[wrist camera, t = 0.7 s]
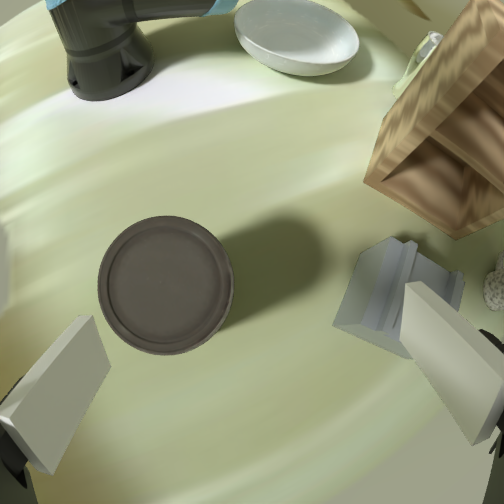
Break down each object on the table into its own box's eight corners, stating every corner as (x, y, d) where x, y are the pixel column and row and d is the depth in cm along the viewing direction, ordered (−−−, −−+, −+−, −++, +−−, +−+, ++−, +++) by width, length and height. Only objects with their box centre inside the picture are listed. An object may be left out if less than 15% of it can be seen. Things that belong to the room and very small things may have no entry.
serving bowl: (316, 20, 51) (325, -4, 44) (366, 88, 47) (382, 63, 40) (218, 26, 47) (219, -2, 41) (253, 100, 43) (259, 68, 37)
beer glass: (427, 106, 48) (469, 58, 33) (407, 115, 46) (451, 62, 32) (404, 80, 49) (439, 29, 34) (382, 86, 47) (419, 30, 33)
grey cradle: (406, 358, 36) (451, 362, 27) (332, 325, 37) (367, 323, 27) (428, 291, 39) (473, 280, 30) (360, 253, 39) (397, 232, 30)
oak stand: (455, 240, 42) (615, 158, 12) (363, 182, 42) (506, 22, 12) (464, 173, 45) (584, 80, 15) (383, 118, 45) (483, -20, 15)
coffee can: (141, 344, 34) (97, 353, 20) (140, 257, 36) (100, 218, 22) (230, 343, 35) (238, 353, 21) (226, 255, 37) (231, 212, 24)
